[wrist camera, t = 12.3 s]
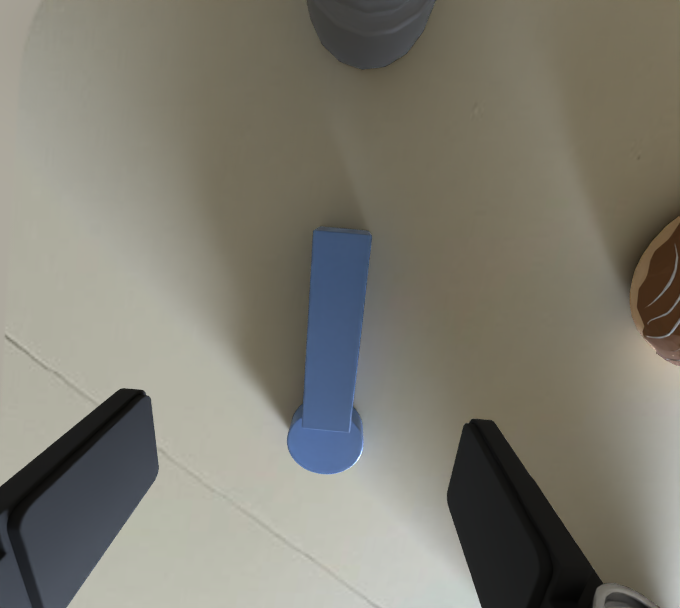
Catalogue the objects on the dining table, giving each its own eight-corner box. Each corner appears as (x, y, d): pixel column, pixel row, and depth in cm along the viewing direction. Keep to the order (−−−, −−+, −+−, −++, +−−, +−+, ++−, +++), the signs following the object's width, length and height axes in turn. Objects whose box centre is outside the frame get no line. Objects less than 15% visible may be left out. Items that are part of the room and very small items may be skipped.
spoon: (301, 224, 19) (291, 227, 16) (387, 232, 19) (394, 237, 16) (290, 452, 24) (281, 488, 21) (358, 458, 24) (359, 495, 21)
